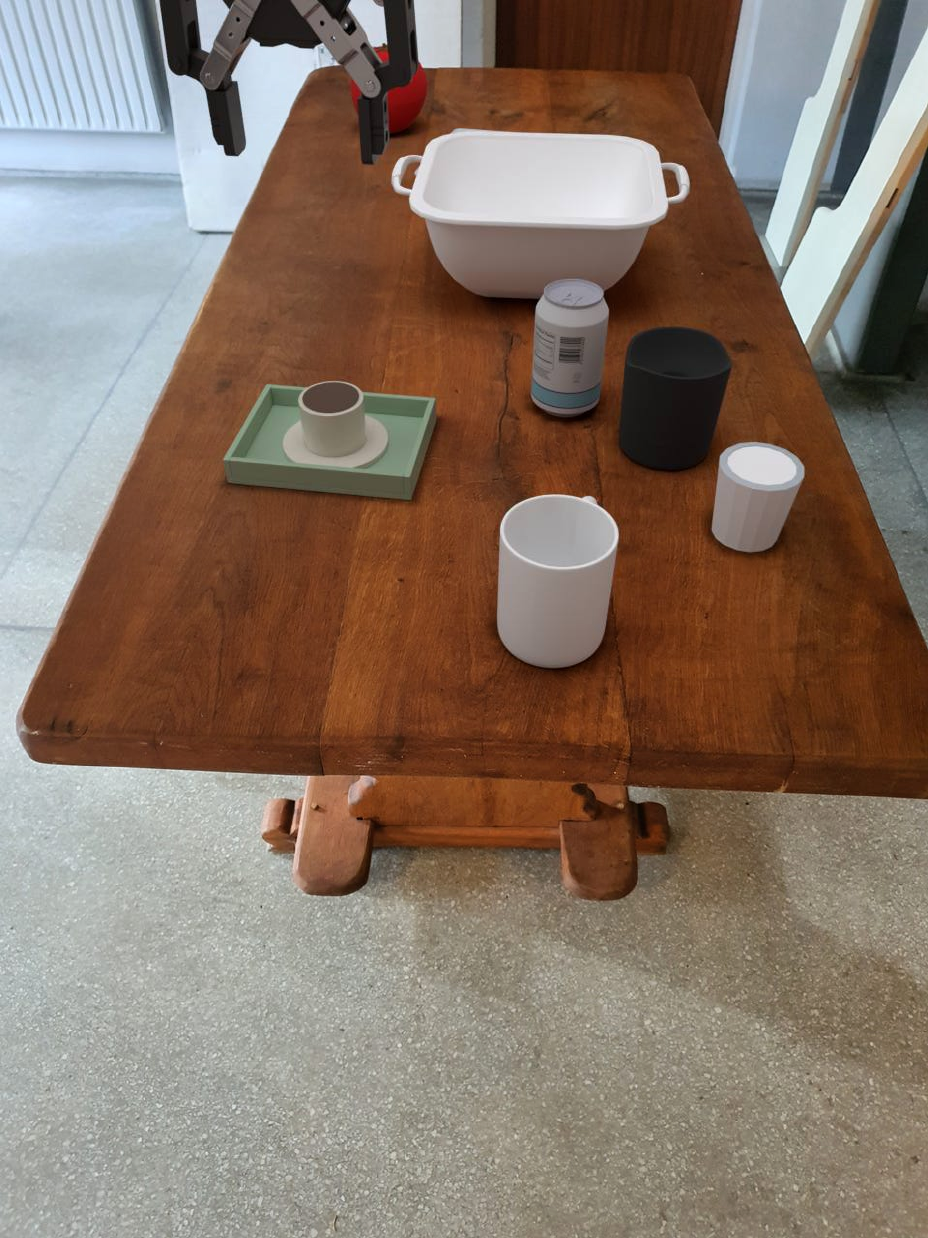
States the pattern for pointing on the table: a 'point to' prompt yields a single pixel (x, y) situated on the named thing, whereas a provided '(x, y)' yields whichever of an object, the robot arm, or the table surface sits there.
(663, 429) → the pen holder
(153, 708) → the table surface
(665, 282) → the table surface
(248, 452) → the tray
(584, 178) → the baking dish
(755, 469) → the white short cylinder
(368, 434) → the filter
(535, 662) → the cup
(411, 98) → the tomato
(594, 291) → the beverage can
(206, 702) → the table surface
